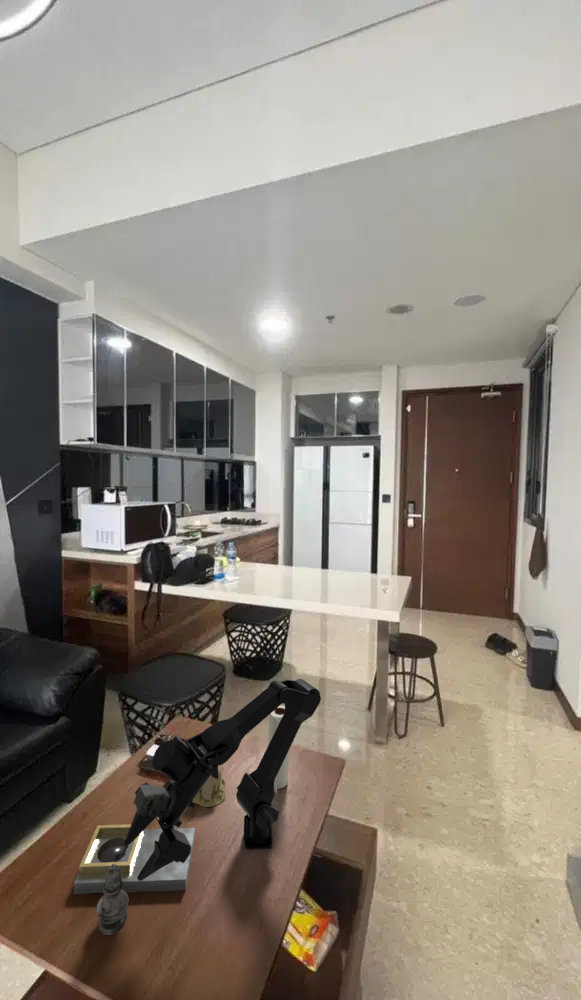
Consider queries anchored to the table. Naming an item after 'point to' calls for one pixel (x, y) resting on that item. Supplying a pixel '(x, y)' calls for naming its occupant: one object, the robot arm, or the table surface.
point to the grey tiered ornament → (112, 903)
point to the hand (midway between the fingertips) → (131, 861)
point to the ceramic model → (212, 791)
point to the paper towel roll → (282, 775)
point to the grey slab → (129, 861)
